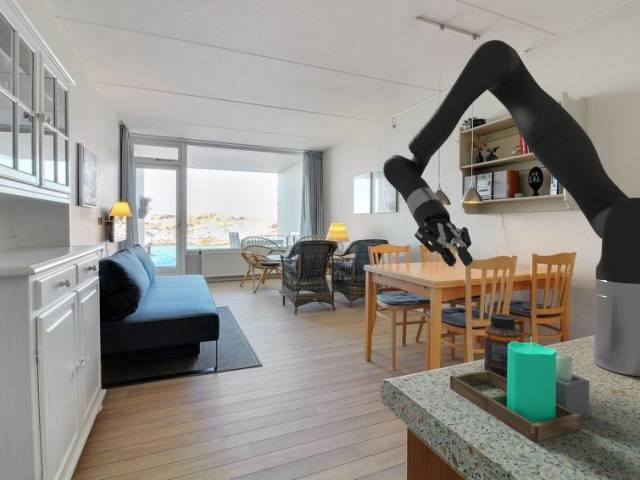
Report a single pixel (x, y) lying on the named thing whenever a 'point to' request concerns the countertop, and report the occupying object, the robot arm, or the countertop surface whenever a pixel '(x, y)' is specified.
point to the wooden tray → (497, 407)
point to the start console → (573, 395)
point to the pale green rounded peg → (563, 368)
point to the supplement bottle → (499, 343)
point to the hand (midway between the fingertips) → (461, 263)
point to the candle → (531, 381)
